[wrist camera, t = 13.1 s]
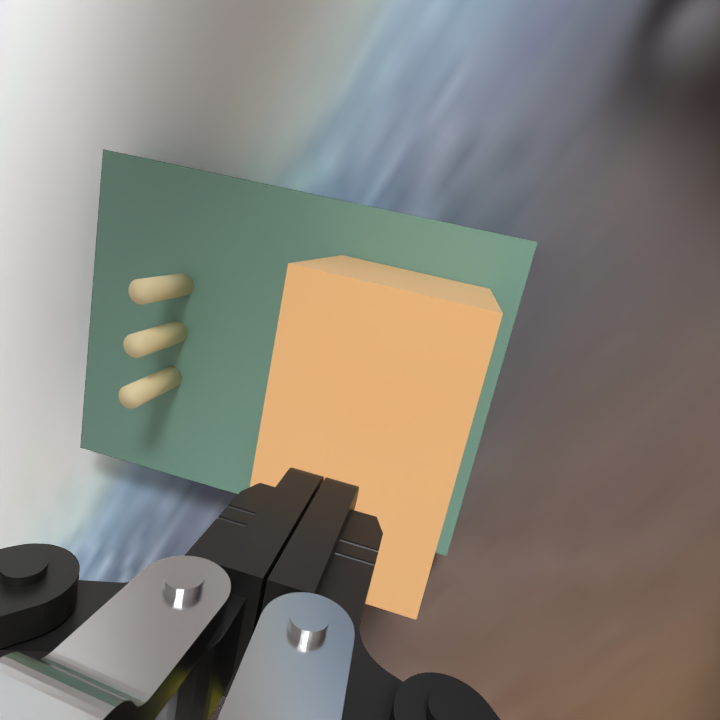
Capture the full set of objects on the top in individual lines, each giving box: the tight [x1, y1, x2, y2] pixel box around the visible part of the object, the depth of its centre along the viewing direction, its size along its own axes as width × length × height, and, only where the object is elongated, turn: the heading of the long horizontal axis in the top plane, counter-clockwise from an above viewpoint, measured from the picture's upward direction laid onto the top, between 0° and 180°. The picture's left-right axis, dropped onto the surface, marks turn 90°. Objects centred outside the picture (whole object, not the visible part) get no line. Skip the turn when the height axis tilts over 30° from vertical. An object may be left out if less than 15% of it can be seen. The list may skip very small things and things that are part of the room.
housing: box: [250, 255, 503, 619], centre depth 18 cm, size 6×9×6 cm, turn 168°
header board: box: [80, 149, 537, 556], centre depth 21 cm, size 17×13×5 cm
